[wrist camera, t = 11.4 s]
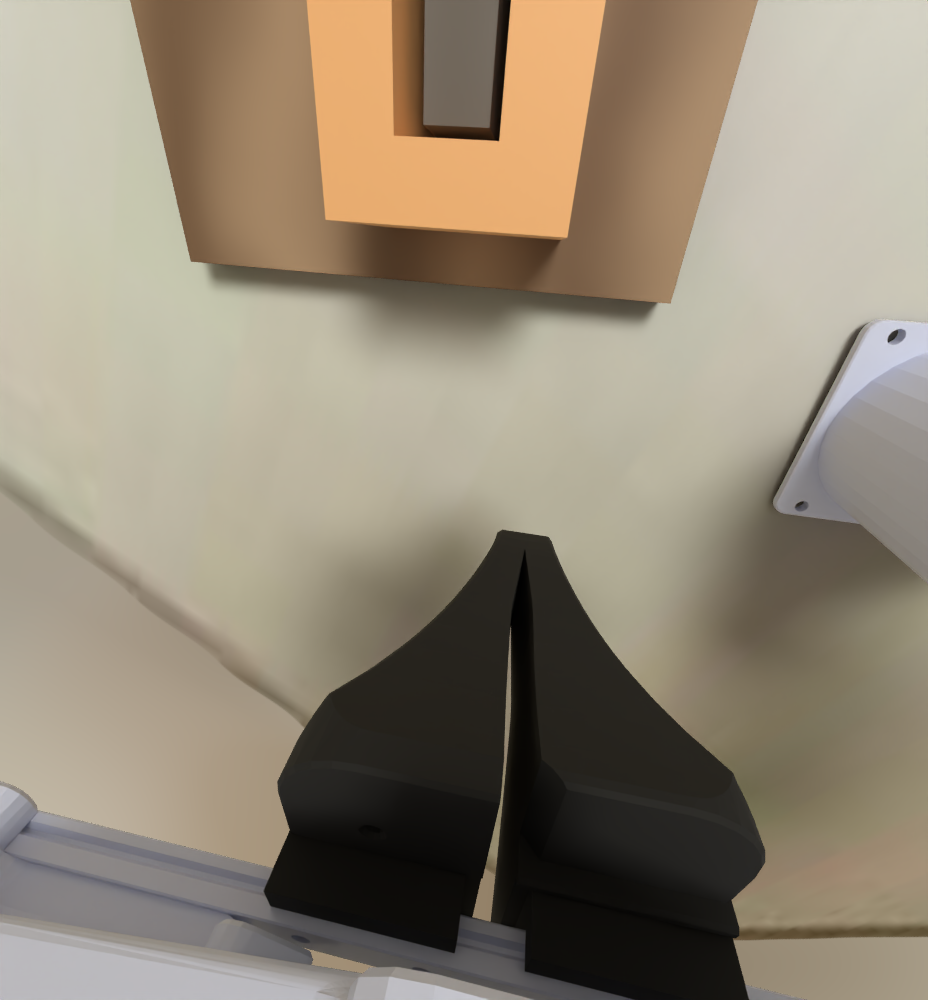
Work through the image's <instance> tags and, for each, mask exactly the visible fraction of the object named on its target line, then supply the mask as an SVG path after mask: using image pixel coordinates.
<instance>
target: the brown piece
mask: <svg viewBox="0 0 928 1000" xmlns="http://www.w3.org/2000/svg"><path fill="white" fill-rule="evenodd" d="M130 1H131V6H132V10H133V14H134V19H135V23H136V27H137V32H138V36H139V40H140V44H141V49H142V53H143V57H144V62H145V66H146V70H147V75H148V79H149V83H150V87H151V92H152V96H153V100H154V105H155V109H156V113H157V118H158V122H159V126H160V130H161V135H162V139H163V143H164V148H165V152H166V156H167V161H168V165H169V169H170V174H171V178H172V182H173V186H174V191H175V195H176V199H177V204H178V208H179V212H180V217H181V221H182V225H183V229H184V234H185V238H186V242H187V247H188V251H189V255H190V260H191V262H203V263H214V264H225V265H237V266H248V267H260V268H271V269H282V270H294V271H305V272H317V273H328V274H340V275H351V276H362V277H374V278H385V279H397V280H408V281H419V282H431V283H442V284H454V285H465V286H477V287H488V288H499V289H511V290H522V291H534V292H545V293H556V294H568V295H579V296H591V297H602V298H614V299H625V300H636V301H648V302H659V303H671V299H672V296H673V292H674V289H675V286H676V282H677V279H678V275H679V272H680V268H681V265H682V261H683V258H684V254H685V251H686V247H687V244H688V240H689V237H690V234H691V230H692V227H693V223H694V220H695V216H696V213H697V209H698V206H699V202H700V199H701V195H702V192H703V188H704V185H705V182H706V178H707V175H708V171H709V168H710V164H711V161H712V157H713V154H714V150H715V147H716V143H717V140H718V136H719V133H720V130H721V126H722V123H723V119H724V116H725V112H726V109H727V105H728V102H729V98H730V95H731V91H732V88H733V84H734V81H735V78H736V74H737V71H738V67H739V64H740V60H741V57H742V53H743V50H744V46H745V43H746V39H747V36H748V32H749V29H750V26H751V22H752V19H753V15H754V12H755V8H756V5H757V1H758V0H606V2H605V8H604V15H603V21H602V27H601V33H600V39H599V45H598V52H597V58H596V64H595V70H594V76H593V82H592V89H591V95H590V101H589V107H588V113H587V119H586V126H585V132H584V138H583V144H582V150H581V156H580V162H579V169H578V175H577V181H576V187H575V193H574V199H573V206H572V212H571V218H570V224H569V230H568V236H567V238H565V239H562V240H553V239H539V238H526V237H513V236H499V235H486V234H472V233H459V232H446V231H432V230H419V229H405V228H392V227H382V226H373V225H365V224H357V223H348V222H340V221H331V220H326V219H325V208H324V196H323V185H322V173H321V161H320V150H319V138H318V126H317V115H316V103H315V92H314V80H313V68H312V57H311V45H310V33H309V22H308V10H307V0H130ZM510 7H511V0H425V31H424V113H423V125H424V126H425V127H426V128H427V129H428V130H429V131H430V132H431V133H432V134H433V135H434V136H435V137H436V138H449V139H469V140H488V141H499V138H500V126H501V115H502V103H503V91H504V79H505V67H506V55H507V43H508V31H509V19H510Z"/></svg>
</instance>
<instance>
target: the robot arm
mask: <svg viewBox="0 0 928 1000" xmlns="http://www.w3.org/2000/svg"><path fill="white" fill-rule="evenodd" d="M896 329H897V330H898V335H897V336H896V338H895V339H894V340H892V341H890V342H888V341H887V339H888V336H889V335H890V334H891V332H893V331H895V330H896ZM801 501H804V503H803V504H802V505H800V506H798V507H795V505H796V504H797V503H799V502H801ZM773 506H774V507H775V508H776V510H777V511H778V512H780V513H783V514H789V515H796V516H804V517H811V518H819V519H826V520H834V521H841V522H849V523H856V524H861V525H862V526H863V527H864V528H865V529H866V530H868V531H869V532H870V533H871V534H872V535H873V536H874V537H875V538H877V539H878V540H879V541H880V542H881V543H882V544H883V545H884V546H886V547H887V548H888V549H889V550H890V551H891V552H892V553H894V554H895V555H896V556H897V557H898V558H899V559H900V560H901V561H903V562H904V563H905V564H906V565H907V566H908V567H909V568H911V569H912V570H913V571H914V572H915V573H916V574H917V575H918V576H920V577H921V578H922V579H923V580H924V581H925V582H926V583H927V584H928V323H926V322H914V321H903V320H891V319H876V320H874V321H871V322H869V323H868V324H867V325H865V326H864V327H863V328H862V330H861V331H860V332H859V334H858V336H857V338H856V340H855V342H854V344H853V346H852V348H851V350H850V352H849V354H848V356H847V358H846V360H845V362H844V364H843V365H842V367H841V369H840V371H839V373H838V375H837V377H836V379H835V381H834V383H833V385H832V387H831V389H830V391H829V393H828V395H827V397H826V398H825V400H824V402H823V404H822V406H821V408H820V410H819V412H818V414H817V416H816V418H815V420H814V422H813V424H812V426H811V428H810V430H809V432H808V433H807V435H806V437H805V439H804V441H803V443H802V445H801V447H800V449H799V451H798V453H797V455H796V457H795V459H794V461H793V463H792V465H791V466H790V468H789V470H788V472H787V474H786V476H785V478H784V480H783V482H782V484H781V486H780V488H779V490H778V492H777V494H776V496H775V498H774V500H773ZM510 628H511V720H510V732H509V743H508V754H507V765H506V775H505V786H504V796H503V806H502V817H501V827H500V837H499V847H498V857H497V866H496V876H495V885H494V895H493V905H492V914H491V922H489V921H485V920H481V919H477V918H473V917H472V916H473V912H474V907H475V903H476V899H477V894H478V889H479V885H480V881H481V878H483V874H484V869H485V865H486V861H487V857H488V852H489V848H490V844H491V839H492V835H493V831H494V826H495V822H496V818H497V813H498V809H499V805H500V798H501V788H502V776H503V763H504V736H505V709H506V687H507V668H508V651H509V636H510ZM278 793H279V796H280V800H281V803H282V806H283V809H284V813H285V816H286V819H287V822H288V825H289V829H290V831H289V833H288V836H287V838H286V841H285V843H284V845H283V847H282V849H281V852H280V854H279V856H278V859H277V861H276V863H275V865H274V868H270V867H266V866H262V865H258V864H254V863H250V862H246V861H242V860H238V859H234V858H229V857H226V856H222V855H217V854H213V853H209V852H205V851H201V850H197V849H193V848H189V847H185V846H181V845H177V844H172V843H169V842H165V841H161V840H157V839H153V838H148V837H144V836H140V835H136V834H132V833H128V832H124V831H120V830H116V829H112V828H108V827H104V826H100V825H96V824H92V823H87V822H84V821H80V820H75V819H71V818H67V817H63V816H59V815H55V814H51V813H47V812H43V811H38V810H37V805H36V804H35V802H34V801H33V800H32V799H31V798H30V797H29V796H28V795H27V794H26V793H25V792H23V791H22V790H21V789H19V788H17V787H15V786H13V785H10V784H7V783H4V782H1V781H0V1000H805V999H801V998H797V997H793V996H789V995H785V994H781V993H777V992H773V991H769V990H765V989H761V988H757V987H752V986H748V985H745V983H744V979H743V975H742V971H741V968H740V964H739V960H738V956H737V953H736V949H735V945H734V942H733V938H737V937H738V936H739V925H738V922H737V918H736V915H735V911H734V908H733V904H732V901H731V900H732V899H733V898H734V897H735V896H736V895H737V894H738V893H739V892H740V891H741V890H743V889H744V888H745V887H746V886H747V885H748V884H749V883H750V882H751V881H752V880H753V879H754V878H755V877H756V876H757V874H758V873H759V871H760V870H761V868H762V866H763V865H764V863H765V849H764V846H763V843H762V841H761V838H760V835H759V832H758V830H757V827H756V824H755V821H754V819H753V816H752V814H751V811H750V809H749V807H748V804H747V802H746V800H745V798H744V796H743V794H742V792H741V790H740V788H739V786H738V784H737V781H736V779H735V777H734V774H733V773H732V772H731V771H730V770H729V769H728V768H727V767H726V766H724V765H723V764H722V763H721V762H720V761H719V760H718V759H716V758H715V757H714V756H713V755H712V754H711V753H710V752H709V751H707V750H706V749H705V748H704V747H703V746H702V745H701V744H700V743H698V742H697V741H696V740H695V739H694V738H693V737H692V736H690V735H689V734H688V733H687V732H686V731H685V730H684V729H683V728H682V727H681V726H680V725H679V724H678V723H677V722H676V721H675V720H674V719H673V718H672V717H671V716H670V715H669V714H668V713H667V712H666V711H665V710H664V709H663V708H662V707H661V706H659V705H658V704H657V703H656V701H655V700H654V699H653V698H652V697H651V696H650V695H649V694H648V693H647V692H646V690H645V689H644V688H643V687H642V686H641V685H640V684H639V683H638V682H637V680H636V679H635V678H634V677H633V676H632V675H631V674H630V673H629V671H628V670H627V669H626V668H625V667H624V665H623V664H622V663H621V662H620V660H619V659H618V658H617V657H616V655H615V654H614V653H613V651H612V650H611V649H610V647H609V646H608V645H607V643H606V642H605V641H604V639H603V638H602V636H601V635H600V634H599V632H598V631H597V629H596V628H595V626H594V625H593V623H592V622H591V620H590V618H589V617H588V615H587V613H586V612H585V610H584V609H583V607H582V605H581V603H580V602H579V600H578V598H577V596H576V595H575V593H574V591H573V589H572V587H571V585H570V583H569V581H568V579H567V577H566V575H565V573H564V571H563V569H562V567H561V565H560V562H559V560H558V558H557V555H556V553H555V550H554V547H553V544H552V541H551V540H550V538H549V537H546V536H540V535H533V534H526V533H520V532H513V531H507V530H501V531H500V532H498V533H497V536H496V539H495V541H494V543H493V545H492V547H491V549H490V551H489V552H488V554H487V556H486V557H485V559H484V560H483V562H482V563H481V565H480V566H479V568H478V569H477V570H476V572H475V573H474V575H473V576H472V577H471V579H470V580H469V581H468V582H467V583H466V585H465V586H464V587H463V588H462V590H461V591H460V592H459V593H458V594H457V596H456V597H455V598H454V599H453V600H452V601H451V602H450V603H449V604H448V605H447V606H446V608H445V609H444V610H443V611H442V612H441V613H440V614H439V615H437V616H436V617H435V618H434V619H433V620H432V621H431V622H430V623H429V624H428V625H427V626H426V627H424V628H423V629H422V630H421V631H420V632H419V633H418V634H417V635H415V636H414V637H413V638H412V639H410V640H409V641H408V642H407V643H405V644H404V645H403V646H401V647H400V648H399V649H397V650H396V651H395V652H393V653H392V654H390V655H389V656H388V657H386V658H385V659H384V660H382V661H381V662H379V663H378V664H377V665H375V666H374V667H372V668H371V669H369V670H368V671H366V672H364V673H363V674H361V675H359V676H358V677H356V678H354V679H353V680H351V681H350V682H348V683H346V684H345V685H343V686H341V687H340V688H338V689H336V690H335V691H333V692H331V693H330V694H329V695H328V696H327V697H326V698H325V700H324V701H323V702H322V704H321V705H320V707H319V708H318V709H317V711H316V712H315V714H314V715H313V717H312V718H311V720H310V721H309V723H308V724H307V726H306V727H305V729H304V730H303V732H302V734H301V735H300V737H299V739H298V741H297V743H296V745H295V747H294V749H293V751H292V753H291V755H290V757H289V759H288V761H287V763H286V765H285V767H284V769H283V771H282V773H281V775H280V777H279V780H278ZM302 947H303V948H302ZM304 948H307V949H310V950H314V951H318V952H322V953H326V954H329V955H333V956H337V957H341V958H344V959H348V960H352V961H356V962H360V963H363V964H367V965H371V966H375V967H376V968H369V969H368V970H366V971H365V972H364V973H357V972H351V971H345V970H338V969H333V968H327V967H320V966H314V965H311V964H312V961H313V958H312V955H311V952H310V951H309V950H306V949H304Z"/></svg>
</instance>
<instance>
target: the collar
mask: <svg viewBox="0 0 928 1000" xmlns="http://www.w3.org/2000/svg"><path fill="white" fill-rule="evenodd" d="M605 2H606V0H511V7H510V19H509V31H508V43H507V55H506V67H505V79H504V91H503V103H502V115H501V126H500V138H499V141H488V140H469V139H449V138H436V137H435V136H434V135H433V134H432V133H431V132H430V131H429V130H428V129H427V128H426V127H425V126H424V125H423V113H424V31H425V0H307V10H308V22H309V33H310V45H311V57H312V68H313V80H314V92H315V103H316V115H317V126H318V138H319V150H320V161H321V173H322V185H323V196H324V208H325V219H326V220H331V221H340V222H348V223H357V224H365V225H373V226H382V227H392V228H405V229H419V230H432V231H446V232H459V233H472V234H486V235H499V236H513V237H526V238H539V239H553V240H562V239H565V238H567V236H568V230H569V224H570V218H571V212H572V206H573V199H574V193H575V187H576V181H577V175H578V169H579V162H580V156H581V150H582V144H583V138H584V132H585V126H586V119H587V113H588V107H589V101H590V95H591V89H592V82H593V76H594V70H595V64H596V58H597V52H598V45H599V39H600V33H601V27H602V21H603V15H604V8H605Z"/></svg>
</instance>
